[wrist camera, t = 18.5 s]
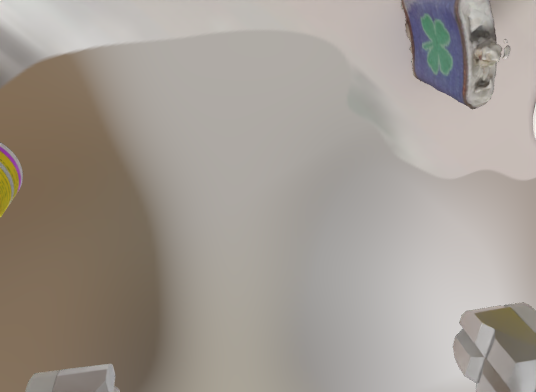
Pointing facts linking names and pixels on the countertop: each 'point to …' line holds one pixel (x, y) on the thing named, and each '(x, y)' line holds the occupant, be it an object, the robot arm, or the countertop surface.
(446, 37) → the flask
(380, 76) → the countertop surface
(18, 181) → the supplement bottle
